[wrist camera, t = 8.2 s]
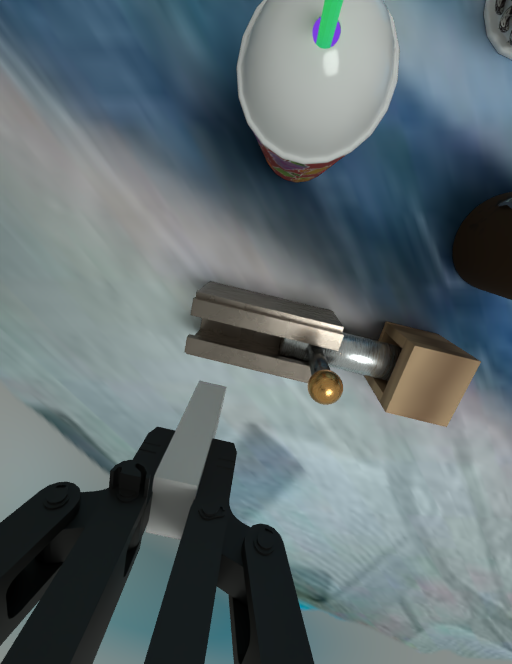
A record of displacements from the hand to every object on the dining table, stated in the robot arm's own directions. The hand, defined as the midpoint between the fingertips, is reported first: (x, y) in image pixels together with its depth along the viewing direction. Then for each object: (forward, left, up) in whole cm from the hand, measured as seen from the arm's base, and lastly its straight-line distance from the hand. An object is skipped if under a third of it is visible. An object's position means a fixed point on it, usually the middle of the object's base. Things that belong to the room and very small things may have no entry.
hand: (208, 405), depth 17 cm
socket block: (+18, 0, -19) cm, 26 cm away
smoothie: (+1, +18, -19) cm, 26 cm away
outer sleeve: (+2, 0, -19) cm, 19 cm away
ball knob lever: (+13, 0, -18) cm, 22 cm away
